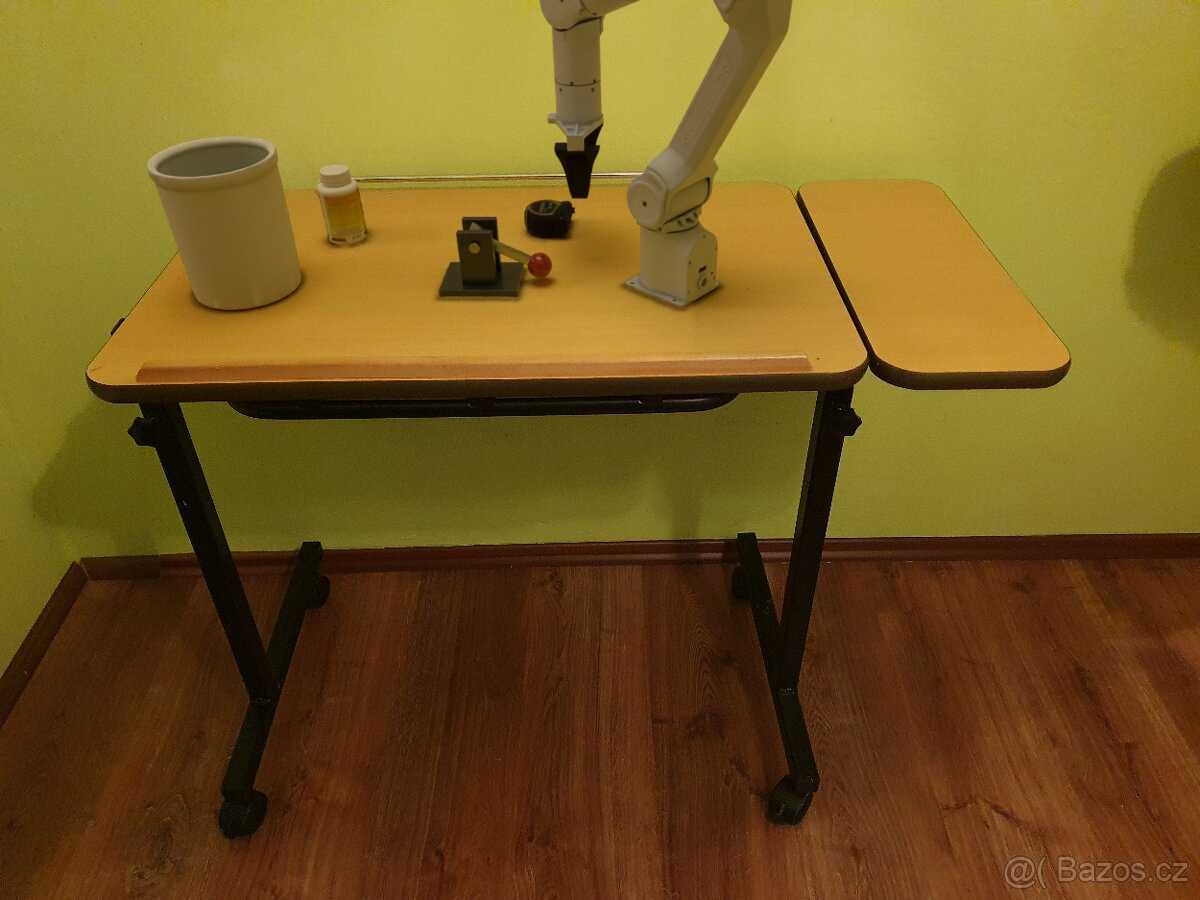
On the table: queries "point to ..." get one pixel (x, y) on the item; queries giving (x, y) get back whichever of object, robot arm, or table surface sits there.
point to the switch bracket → (481, 264)
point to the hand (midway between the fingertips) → (581, 186)
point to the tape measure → (548, 217)
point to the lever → (522, 256)
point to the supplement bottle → (341, 205)
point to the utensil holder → (229, 220)
